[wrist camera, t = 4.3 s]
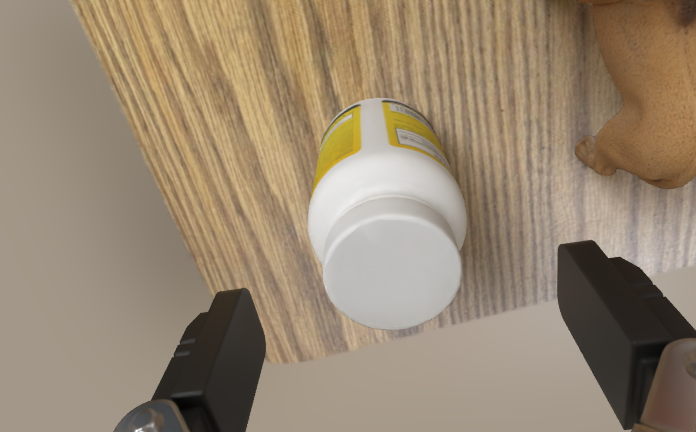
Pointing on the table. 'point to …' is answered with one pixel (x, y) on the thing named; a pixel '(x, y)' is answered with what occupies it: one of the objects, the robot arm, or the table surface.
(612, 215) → the table surface
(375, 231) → the supplement bottle
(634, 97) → the lion figurine
